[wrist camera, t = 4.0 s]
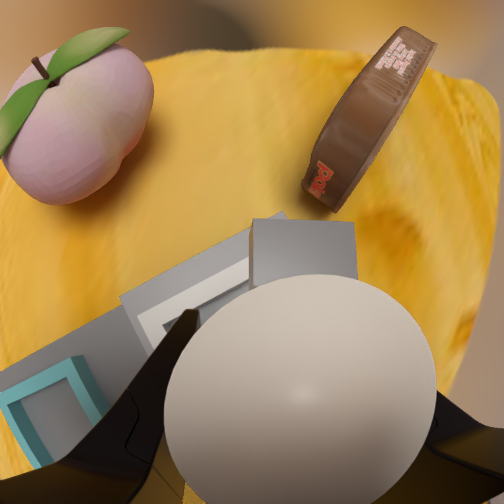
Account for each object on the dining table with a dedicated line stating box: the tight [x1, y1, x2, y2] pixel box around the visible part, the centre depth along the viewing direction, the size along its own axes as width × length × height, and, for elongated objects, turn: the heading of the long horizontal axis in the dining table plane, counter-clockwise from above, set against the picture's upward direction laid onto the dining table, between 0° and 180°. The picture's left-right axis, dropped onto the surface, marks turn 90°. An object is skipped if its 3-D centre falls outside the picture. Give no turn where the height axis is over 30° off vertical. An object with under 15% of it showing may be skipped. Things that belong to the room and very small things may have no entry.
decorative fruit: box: [0, 27, 154, 205], centre depth 13 cm, size 9×8×10 cm
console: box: [0, 211, 287, 469], centre depth 13 cm, size 21×10×4 cm, turn 119°
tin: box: [301, 26, 437, 213], centre depth 16 cm, size 15×3×8 cm, turn 144°
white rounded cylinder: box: [164, 218, 437, 504], centre depth 9 cm, size 5×4×10 cm
